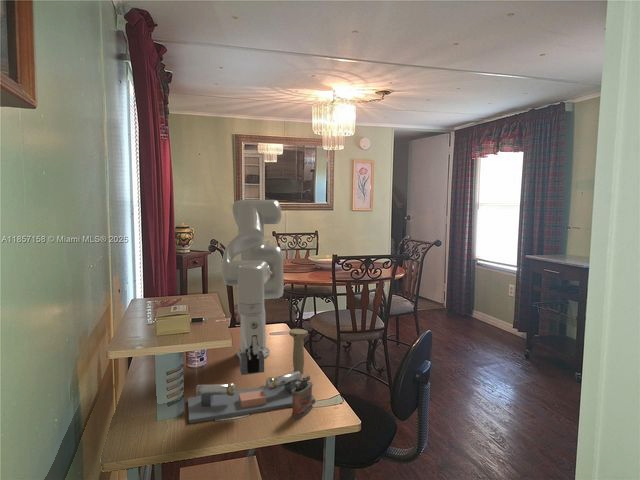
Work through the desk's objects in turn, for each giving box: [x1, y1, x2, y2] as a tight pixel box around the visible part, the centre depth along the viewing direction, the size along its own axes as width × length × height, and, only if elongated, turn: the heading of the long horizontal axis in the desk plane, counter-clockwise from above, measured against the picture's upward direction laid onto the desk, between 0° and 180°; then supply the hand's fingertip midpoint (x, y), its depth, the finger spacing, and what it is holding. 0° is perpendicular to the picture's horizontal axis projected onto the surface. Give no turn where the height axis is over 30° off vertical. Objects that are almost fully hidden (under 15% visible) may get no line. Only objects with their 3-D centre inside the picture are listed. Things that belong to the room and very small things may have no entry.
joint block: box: [239, 351, 265, 376], centre depth 120 cm, size 4×6×6 cm, turn 109°
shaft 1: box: [195, 382, 236, 407], centre depth 121 cm, size 11×4×7 cm, turn 94°
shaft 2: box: [265, 371, 303, 394], centre depth 127 cm, size 11×4×7 cm, turn 124°
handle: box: [288, 328, 309, 375], centre depth 143 cm, size 5×6×15 cm
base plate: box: [187, 385, 316, 424], centre depth 123 cm, size 13×36×3 cm, turn 109°
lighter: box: [291, 374, 314, 420], centre depth 117 cm, size 8×3×10 cm, turn 147°
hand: (252, 368), depth 120 cm, fingers closed on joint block, 4 cm apart
